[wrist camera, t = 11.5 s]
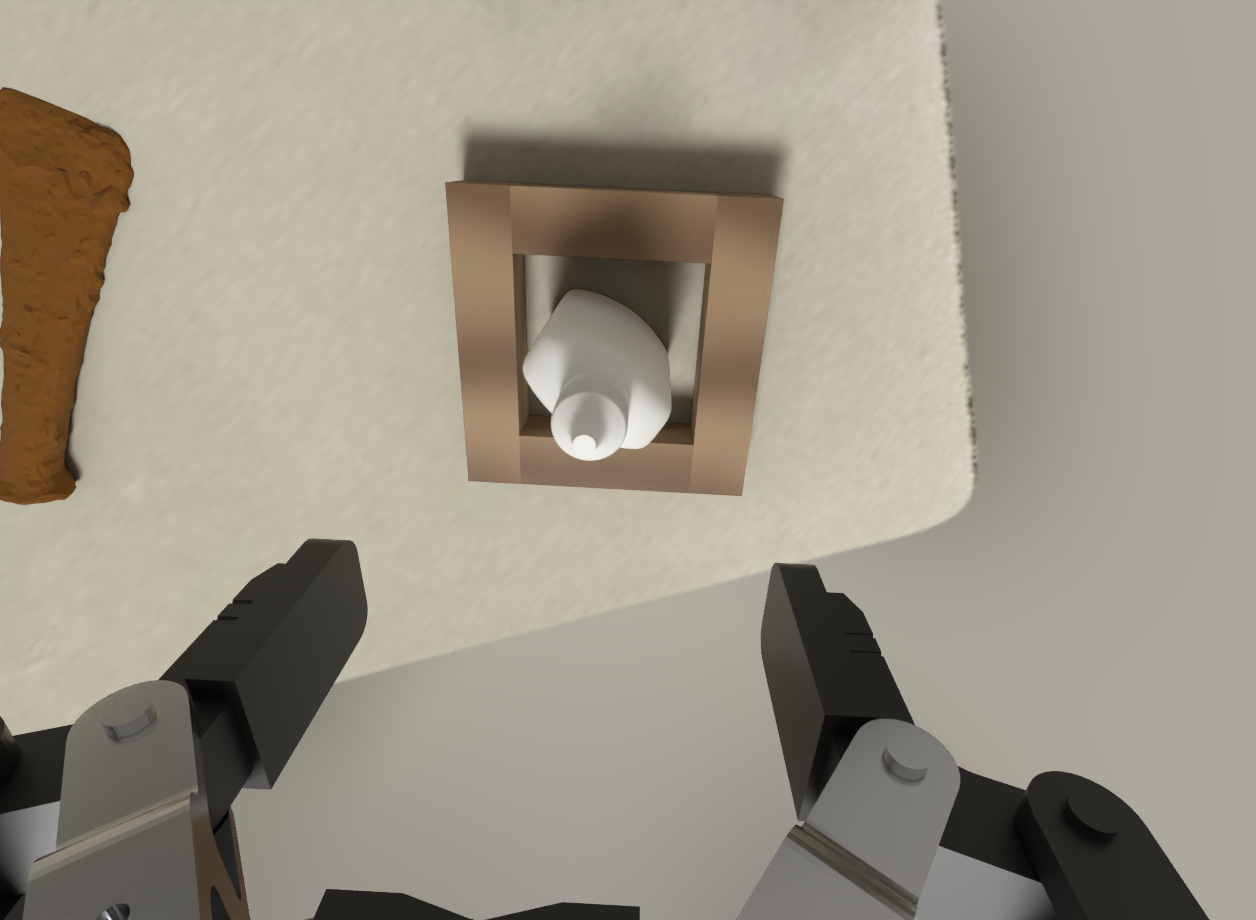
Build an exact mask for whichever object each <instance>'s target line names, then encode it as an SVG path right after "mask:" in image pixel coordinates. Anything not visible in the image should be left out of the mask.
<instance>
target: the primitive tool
mask: <svg viewBox="0 0 1256 920" xmlns="http://www.w3.org/2000/svg"><path fill="white" fill-rule="evenodd" d="M130 164H131V156H130V151H129V148H128V146H127V145H126V143H125V142H124V140H123V139H122V137H120V136H118V135H117V134H116V133H114V132H113V131H110V130H109V129H107V128H103V127H101V126H98V125H97V124H96V123H94V122H92V121H90V120H88V119H86V118H85V117H83V116H80V115H78V114H76V113H73V112H70V111H67V110H64V109H63V108H60V107H58V106H55V105H53V104H51V103H48V102H46V101H43V100H41V99H38V98H36V97H33V96H30V95H28V94H25V93H22V92H19V91H15V90H10V89H7V88H4V87H3V88H2V89H1V90H0V222H1V240H2V248H1V257H0V274H1V284H2V296H3V304H2V305H3V314H2V318H3V321H2V324H1V328H0V340H1V341H0V347H1V348H2V350H3V356H4V380H3V389H2V396H1V407H2V415H3V423H2V425H1V427H0V430H1V439H0V500H2V501H6V502H12V503H16V504H22V505H28V504H35V503H46V502H51V501H55V500H65V499H66V498H68V497H69V496H70V495H71V494H72V493H73V492H74V490H75V488H76V485H75V480H74V478H73V476H72V473H71V471H70V470H69V469H68V468H67V467H66V465H65V463H64V459H65V450H66V446H67V441H68V438H69V431H68V429H69V422H70V414H71V410H72V408H73V407H74V400H75V399H74V397H75V392H74V391H75V383H76V380H77V376H78V373H79V370H80V367H81V365H82V358H83V352H84V348H85V344H86V340H87V334H88V329H89V323H90V320H91V318H92V311H93V309H94V308H95V306H96V304H97V303H98V301H99V290H100V288H101V287H102V285H103V284H104V280H103V278H102V274H103V270H104V269H105V259H106V257H107V255H108V252H109V249H110V247H111V245H112V243H111V240H112V236H113V233H114V231H115V228H116V225H117V220H118V216H119V214H120V212H126V211H127V209H128V208H129V206H130V205H129V203H128V201H127V191H128V188H130V187H131V184H132V181H133V177H134V172H133V170H132V169H131V167H130Z"/></svg>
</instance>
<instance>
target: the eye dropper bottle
mask: <svg viewBox="0 0 1256 920" xmlns="http://www.w3.org/2000/svg"><path fill="white" fill-rule="evenodd" d="M522 369H523V373H524V377H525V379H526V380H527V382H528V384H529V386H530V387H531V389H532V390H533V392H534V393H535V395H536V396H537V397H538V399H539V400H540V401H541V402H542V403H543V405H544V406H545V407H546V408H547V409H548V410H549V411H550V412H551V413H552V415H551V423H550V424H551V429H552V430H551V432H552V433H553V434H552V435H553V436H554V439H555V440H556V441H555V442H557V443H558V445H559V446H560V448H561V449H563V451H565V452H566V453H568V454H569V455H571V456H572V457H575V458H576V459H577V458H578V459H580V460H581V459H582V460H587V461H589V460H590V461H593V460H594V461H596V460H600V459H603V458H607V456H610V454H613V452H616V450H618V449H619V448H626V449H640V448H643V447H645V446H646V445H648V444H649V443H650V442H651V441H652V440H653V439H654V437H655V436H656V435H657V434H658V433H659V431H660V430H661V429H662V427H663V426H664V425H665V423H666V422H667V420H668V418H669V416H670V413H671V385H670V371H669V360H668V354H667V351H666V349H665V347H664V346H663V344H662V342H661V341H660V339H659V338H658V337H657V335H656V334H655V333H654V331H653V330H652V329H651V328H650V327H649V326H648V325H647V323H646V322H644V321H643V320H642V319H641V318H640V317H639V316H638V315H637V314H635V313H634V312H633V311H632V310H630V309H629V308H627V307H626V306H624V305H622V304H621V303H619V302H617V301H615V300H613V299H611V298H608V297H606V296H603V295H601V294H598V293H594V292H591V291H587V290H580V289H575V290H570V291H569V292H568V293H566V294H565V295H564V297H563V298H562V300H561V301H560V303H559V304H558V306H557V307H556V309H555V310H554V312H553V313H552V315H551V316H550V318H549V320H548V321H547V323H546V324H545V326H544V327H543V329H542V330H541V332H540V334H539V335H538V337H537V338H536V340H535V342H534V343H533V345H532V347H531V348H530V350H529V352H528V354H527V355H526V357H525V359H524V363H523V368H522Z"/></svg>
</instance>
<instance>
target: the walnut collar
mask: <svg viewBox="0 0 1256 920" xmlns="http://www.w3.org/2000/svg"><path fill="white" fill-rule="evenodd" d="M445 186H446V199H447V212H448V224H449V237H450V250H451V263H452V275H453V288H454V301H455V314H456V326H457V339H458V352H459V365H460V377H461V390H462V403H463V415H464V428H465V441H466V454H467V466H468V479H469V481H479V482H497V483H515V484H533V485H552V486H570V487H588V488H606V489H624V490H642V491H661V492H679V493H697V494H715V495H733V496H742V491H743V484H744V477H745V470H746V462H747V455H748V448H749V441H750V434H751V427H752V420H753V413H754V406H755V399H756V392H757V385H758V377H759V370H760V363H761V356H762V349H763V342H764V335H765V328H766V321H767V314H768V307H769V300H770V292H771V285H772V278H773V271H774V264H775V257H776V250H777V243H778V236H779V229H780V222H781V215H782V207H783V200H784V199H782V198H779V197H776V196H773V195H753V194H732V193H712V192H691V191H671V190H650V189H629V188H609V187H588V186H568V185H547V184H526V183H506V182H485V181H465V180H462V181H454V182H445ZM524 254H531V255H551V256H571V257H591V258H611V259H631V260H651V261H671V262H691V263H706V267H705V278H704V288H703V299H702V310H701V320H700V331H699V341H698V352H697V363H696V373H695V384H694V394H693V405H692V416H691V424H680V423H665V425H664V426H663V427H662V429H661V430H660V431H659V433H658V434H657V435H656V436H655V437H654V439H653V440H652V441H651V442H650V443H649V444H648V445H646V446H645V447H643V448H640V449H626V448H619V449H618V450H616V452H613V454H610V456H607V458H603V459H600V460H596V461H594V460H593V461H590V460H589V461H587V460H582V459H581V460H580V459H578V458H577V459H576V458H575V457H572V456H571V455H569V454H568V453H566V452H565V451H563V449H561V448H560V446H559V445H558V443H557V442H555V441H556V440H555V439H554V436H553V435H552V434H553V433H552V432H551V430H552V429H551V424H550V423H551V417H549V416H530V415H529V401H528V382H527V380H526V379H525V377H524V373H523V369H522V368H523V363H524V359H525V357H526V355H527V332H526V297H525V263H524Z"/></svg>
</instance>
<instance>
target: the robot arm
mask: <svg viewBox="0 0 1256 920" xmlns="http://www.w3.org/2000/svg"><path fill="white" fill-rule="evenodd" d="M367 611H368V609H367V600H366V595H365V589H364V584H363V579H362V573H361V568H360V563H359V558H358V552H357V548H356V546H355V544H354V543H353V542H352V541H350V540H331V539H308V540H307V541H306V542H304V543H303V545H302V546H301V547H300V548H299V549H298V550H297V551H296V553H295V554H294V555H293V556H292V557H291V558H290V559H289V561H288V562H287V563H286V564H281V563H278V564H276V565H274V566H273V567H271V568H270V569H268V570H266V571H265V572H263V573H261V574H260V575H258V576H257V577H255V578H253V579H252V580H251V581H250V582H249V583H248V584H247V585H246V586H245V587H244V588H243V589H242V590H241V591H240V592H239V593H238V595H237V596H236V597H235V598H234V599H233V603H232V604H228V605H227V606H226V607H225V609H224V610H223V611H222V612H221V613H220V614H219V615H218V619H217V620H213V621H212V623H211V624H210V625H209V626H208V627H207V628H206V629H205V630H204V631H203V632H202V633H201V634H200V635H199V637H198V638H197V639H196V640H195V641H194V642H193V643H192V644H191V645H190V646H189V647H188V648H187V649H186V651H185V652H184V653H183V654H182V655H181V656H180V657H179V658H178V659H177V660H176V661H175V662H174V663H173V665H172V666H171V667H170V668H169V669H168V670H167V671H166V672H165V673H164V674H163V675H162V676H161V677H160V679H159V680H156V681H148V682H143V683H138V684H135V685H132V686H129V687H126V688H124V689H121V690H119V691H117V692H114V693H112V694H110V695H108V696H107V697H105V698H103V699H102V700H100V701H98V702H97V703H96V704H94V705H93V706H91V707H90V708H89V709H88V710H87V711H85V712H84V713H83V714H82V715H81V716H80V717H79V718H78V719H77V720H76V722H75V723H74V724H73V725H67V726H62V727H57V728H52V729H47V730H41V731H36V732H31V733H26V734H20V735H15V736H12V734H11V732H10V731H9V729H8V727H7V726H6V724H5V722H4V720H3V719H2V718H1V717H0V920H251V919H250V914H249V908H248V902H247V895H246V889H245V882H244V876H243V869H242V863H241V856H240V850H239V844H238V837H237V831H236V824H235V818H234V814H233V811H232V808H231V804H232V803H233V801H234V799H235V798H236V796H237V795H238V793H239V791H240V790H241V788H252V789H272V787H273V785H274V783H275V782H276V780H277V778H278V777H279V775H280V773H281V772H282V770H283V768H284V767H285V765H286V763H287V761H288V760H289V758H290V756H291V755H292V753H293V751H294V749H295V748H296V746H297V745H298V743H299V741H300V740H301V738H302V736H303V734H304V733H305V731H306V729H307V728H308V726H309V724H310V723H311V721H312V719H313V718H314V716H315V714H316V712H317V711H318V709H319V708H320V706H321V704H322V703H323V701H324V699H325V697H326V696H327V694H328V692H329V691H330V689H331V687H332V686H333V684H334V682H335V681H336V679H337V677H338V676H339V674H340V672H341V670H342V669H343V667H344V665H345V664H346V662H347V660H348V659H349V657H350V655H351V654H352V652H353V650H354V649H355V647H356V645H357V643H358V642H359V640H360V638H361V636H362V634H363V632H364V629H365V625H366V621H367ZM761 653H762V660H763V665H764V669H765V674H766V678H767V683H768V687H769V692H770V696H771V701H772V705H773V710H774V714H775V719H776V723H777V728H778V733H779V737H780V742H781V746H782V751H783V755H784V760H785V764H786V769H787V773H788V778H789V782H790V787H791V791H792V796H793V800H794V805H795V810H796V814H797V819H798V821H805V822H804V824H803V825H802V826H801V827H799V826H798V825H795V826H794V827H793V828H792V829H791V830H790V832H789V833H788V834H787V836H786V837H785V839H784V841H783V842H782V844H781V846H780V847H779V849H778V851H777V852H776V854H775V855H774V857H773V859H772V861H771V862H770V864H769V866H768V867H767V869H766V871H765V872H764V874H763V876H762V877H761V879H760V881H759V882H758V884H757V886H756V887H755V889H754V891H753V892H752V894H751V896H750V897H749V899H748V901H747V902H746V904H745V906H744V907H743V909H742V911H741V912H740V914H739V916H738V918H737V919H736V920H914V918H917V919H919V920H1209V919H1208V917H1207V916H1206V914H1205V912H1204V911H1203V910H1202V908H1201V907H1200V905H1199V904H1198V902H1197V901H1196V899H1195V898H1194V896H1193V895H1192V893H1191V892H1190V890H1189V889H1188V887H1187V886H1186V884H1185V883H1184V881H1183V880H1182V879H1181V877H1180V875H1179V874H1178V872H1177V871H1176V869H1175V868H1174V867H1173V865H1172V864H1171V862H1170V861H1169V859H1168V858H1167V856H1166V855H1165V853H1164V852H1163V850H1162V849H1161V847H1160V846H1159V844H1158V843H1157V841H1156V840H1155V838H1154V837H1153V835H1152V834H1151V832H1150V831H1149V829H1148V828H1147V827H1146V825H1145V824H1144V822H1143V821H1142V820H1141V819H1140V817H1139V816H1138V815H1137V814H1136V813H1135V812H1134V811H1133V810H1132V808H1131V807H1129V806H1128V805H1127V804H1126V803H1125V802H1124V801H1123V800H1121V799H1120V798H1119V797H1117V796H1116V795H1115V794H1113V793H1112V792H1111V791H1109V790H1107V789H1106V788H1104V787H1103V786H1101V785H1099V784H1097V783H1095V782H1093V781H1091V780H1089V779H1086V778H1084V777H1081V776H1078V775H1075V774H1072V773H1067V772H1060V771H1050V772H1044V773H1041V774H1039V775H1037V776H1036V777H1034V778H1033V779H1032V781H1031V782H1030V784H1029V786H1028V788H1027V790H1023V789H1020V788H1017V787H1014V786H1010V785H1008V784H1004V783H1002V782H998V781H995V780H992V779H989V778H986V777H983V776H980V775H977V774H974V773H972V772H969V771H967V770H965V769H963V768H961V767H959V766H957V764H956V762H955V760H954V758H953V757H952V755H951V754H950V752H949V751H948V750H947V749H946V748H945V746H944V745H943V744H942V743H941V742H940V741H938V740H937V739H936V738H935V737H934V736H932V735H931V734H930V733H928V732H926V731H925V730H923V729H921V728H919V727H917V726H915V724H914V722H913V720H912V717H911V715H910V713H909V711H908V709H907V707H906V704H905V702H904V700H903V698H902V696H901V694H900V691H899V689H898V687H897V685H896V683H895V681H894V678H893V676H892V674H891V672H890V670H889V668H888V665H887V663H886V661H885V659H884V657H882V656H881V651H880V648H879V646H878V644H877V642H876V639H875V638H873V633H872V631H871V629H870V627H869V624H868V622H867V620H866V618H865V616H864V613H863V612H862V611H861V610H860V609H859V608H858V607H857V606H856V605H855V604H854V603H853V602H852V601H851V600H850V599H849V598H848V597H847V596H845V594H844V593H828V592H826V589H825V587H824V584H823V582H822V579H821V577H820V575H819V572H818V570H817V568H816V566H815V565H805V564H786V563H774V565H773V567H772V570H771V575H770V581H769V586H768V593H767V598H766V603H765V609H764V615H763V621H762V627H761ZM639 917H640V907H635V906H617V905H599V904H583V903H564V902H562V903H558V904H554V905H548V906H544V907H540V908H535V909H531V910H527V911H522V912H518V913H513V914H509V915H505V916H501V917H496V918H491V919H487V920H640V918H639ZM306 920H473V919H469V918H466V917H464V916H461V915H458V914H456V913H453V912H451V911H448V910H445V909H443V908H440V907H438V906H435V905H432V904H430V903H427V902H424V901H422V900H419V899H416V898H414V897H411V896H409V895H406V894H403V893H388V892H371V891H353V890H333V889H326V891H325V893H324V896H323V898H322V900H321V903H320V905H319V907H318V910H317V912H316V914H315V916H314V918H310V919H306Z"/></svg>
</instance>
